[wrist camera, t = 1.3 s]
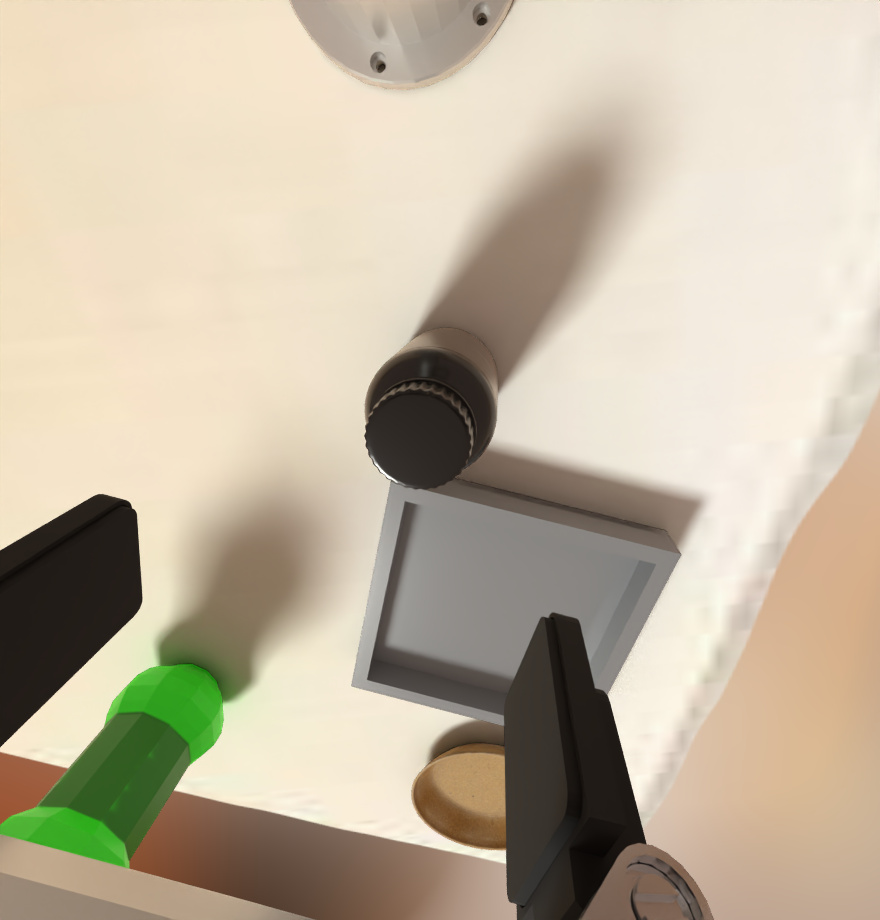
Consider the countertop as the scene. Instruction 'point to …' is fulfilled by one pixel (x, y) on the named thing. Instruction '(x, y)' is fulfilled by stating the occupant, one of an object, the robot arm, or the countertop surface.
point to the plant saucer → (465, 795)
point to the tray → (498, 592)
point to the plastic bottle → (128, 767)
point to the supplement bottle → (432, 409)
